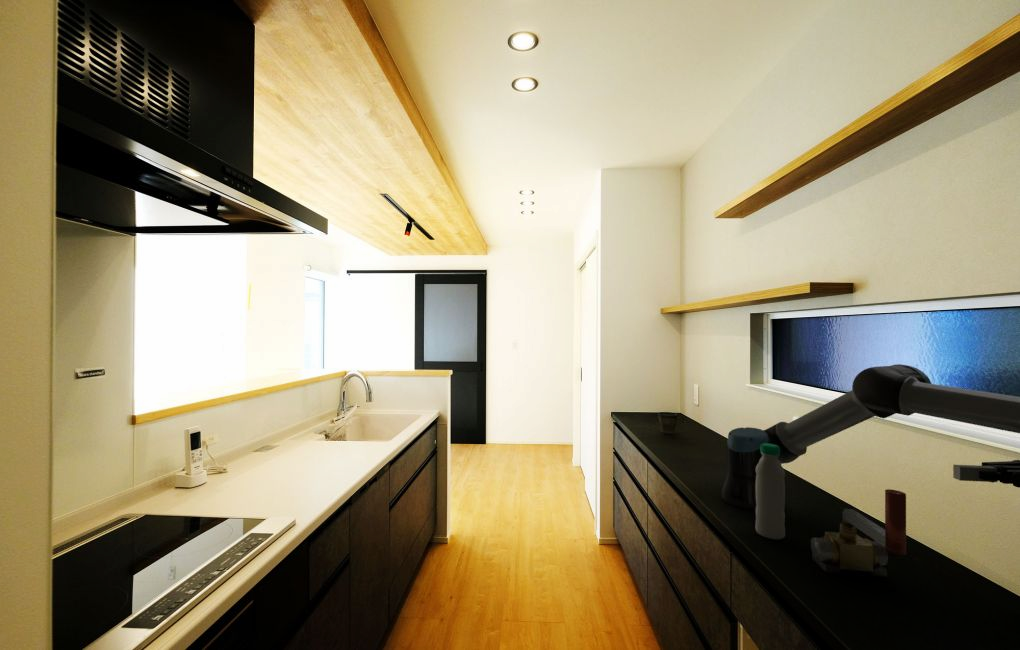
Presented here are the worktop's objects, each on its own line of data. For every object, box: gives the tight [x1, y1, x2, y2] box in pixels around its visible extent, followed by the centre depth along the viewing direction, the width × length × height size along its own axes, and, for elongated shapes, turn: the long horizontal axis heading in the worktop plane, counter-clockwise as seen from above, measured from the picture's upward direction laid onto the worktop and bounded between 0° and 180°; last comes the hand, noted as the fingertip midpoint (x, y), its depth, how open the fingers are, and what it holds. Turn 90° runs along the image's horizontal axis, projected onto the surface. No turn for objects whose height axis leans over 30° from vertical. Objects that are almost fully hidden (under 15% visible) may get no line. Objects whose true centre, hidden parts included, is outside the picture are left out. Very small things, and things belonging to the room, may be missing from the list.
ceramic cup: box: [657, 411, 683, 434], centre depth 232 cm, size 13×10×10 cm
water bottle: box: [754, 443, 786, 540], centre depth 119 cm, size 7×7×25 cm
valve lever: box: [841, 488, 907, 556], centre depth 94 cm, size 18×3×14 cm, turn 172°
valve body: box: [810, 522, 889, 578], centre depth 102 cm, size 14×6×10 cm, turn 82°
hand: (956, 472), depth 85 cm, fingers closed
